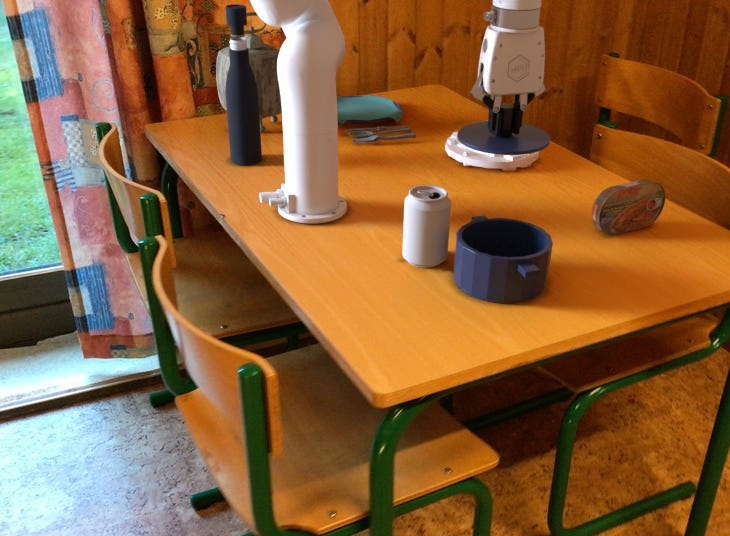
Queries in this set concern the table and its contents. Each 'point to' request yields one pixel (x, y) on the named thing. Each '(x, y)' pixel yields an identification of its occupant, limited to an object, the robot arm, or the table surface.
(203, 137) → the table surface
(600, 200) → the tin
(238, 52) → the dark blue bottle
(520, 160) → the embossed medallion
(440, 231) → the can
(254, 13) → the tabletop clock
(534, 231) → the pot
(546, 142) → the pot lid
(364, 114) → the cutlery set
